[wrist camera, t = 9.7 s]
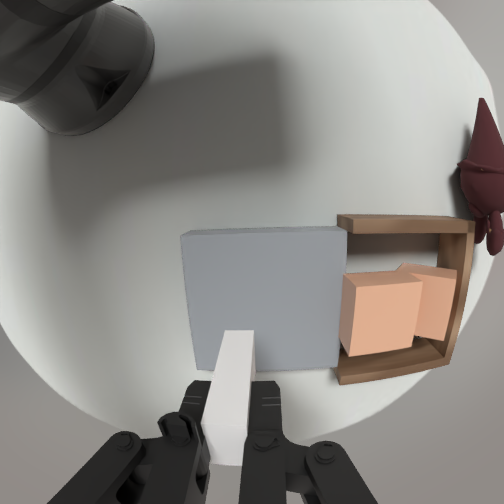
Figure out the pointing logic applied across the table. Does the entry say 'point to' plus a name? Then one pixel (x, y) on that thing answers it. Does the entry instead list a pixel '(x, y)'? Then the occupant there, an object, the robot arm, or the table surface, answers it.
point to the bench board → (267, 293)
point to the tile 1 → (378, 311)
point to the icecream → (485, 179)
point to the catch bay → (449, 256)
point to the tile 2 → (433, 299)
